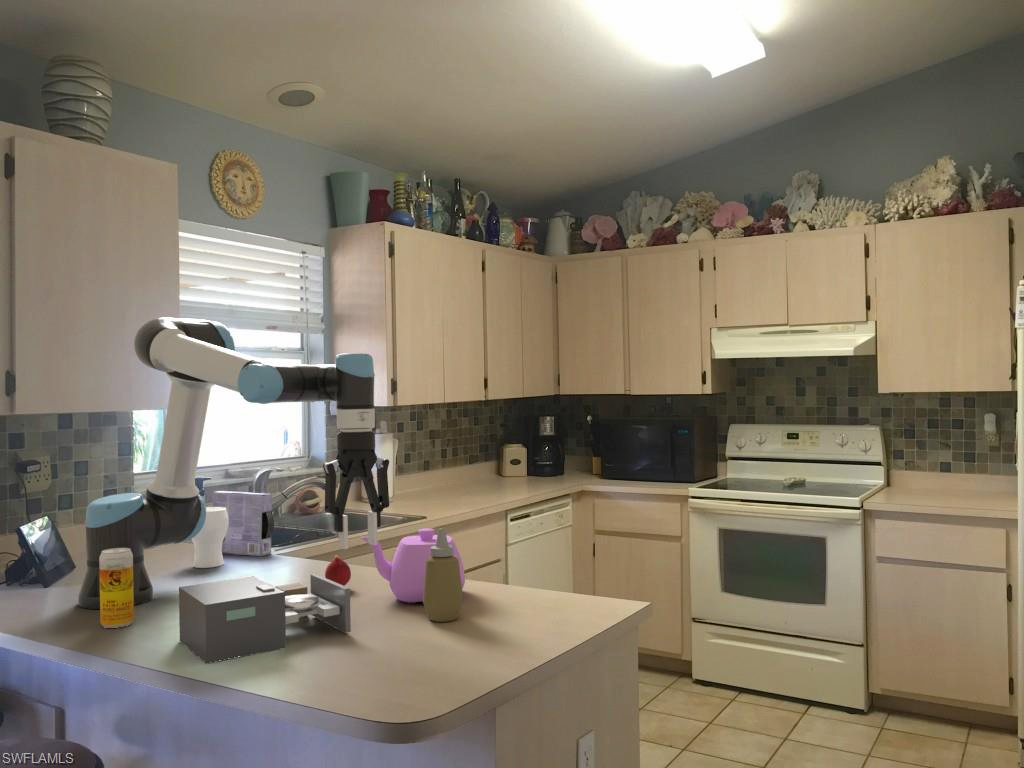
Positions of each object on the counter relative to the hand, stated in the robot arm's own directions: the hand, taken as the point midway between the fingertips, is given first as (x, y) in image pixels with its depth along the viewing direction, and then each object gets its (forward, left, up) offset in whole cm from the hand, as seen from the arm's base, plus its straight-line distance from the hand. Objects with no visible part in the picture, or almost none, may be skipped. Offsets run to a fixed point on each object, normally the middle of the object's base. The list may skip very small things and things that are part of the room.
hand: (358, 545), depth 171 cm
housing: (0, -26, -15) cm, 30 cm away
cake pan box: (-88, +5, -15) cm, 89 cm away
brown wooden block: (-12, -10, -15) cm, 21 cm away
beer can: (-28, -40, -15) cm, 51 cm away
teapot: (-8, +19, -15) cm, 26 cm away
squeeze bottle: (+10, +13, -15) cm, 23 cm away
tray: (0, -13, -14) cm, 19 cm away
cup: (-77, -8, -15) cm, 79 cm away
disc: (0, -13, -10) cm, 16 cm away
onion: (-27, +7, -15) cm, 32 cm away
